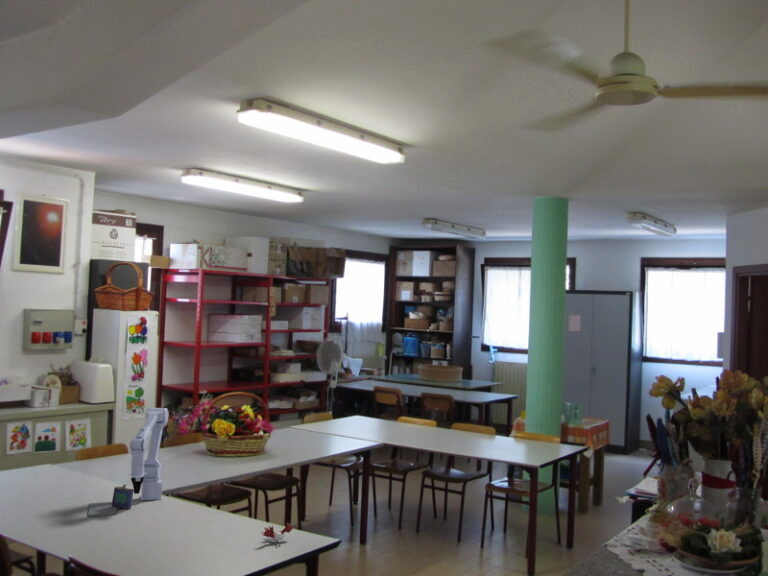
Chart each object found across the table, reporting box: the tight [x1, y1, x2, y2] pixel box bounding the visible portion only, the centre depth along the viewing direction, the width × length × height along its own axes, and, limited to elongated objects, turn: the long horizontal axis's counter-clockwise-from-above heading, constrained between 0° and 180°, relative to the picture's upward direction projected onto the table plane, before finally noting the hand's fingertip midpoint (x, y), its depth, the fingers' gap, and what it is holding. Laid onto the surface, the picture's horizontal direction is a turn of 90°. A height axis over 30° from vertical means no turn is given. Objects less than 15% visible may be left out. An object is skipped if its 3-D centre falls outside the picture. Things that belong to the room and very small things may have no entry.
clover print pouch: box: [111, 484, 134, 510], centre depth 335 cm, size 9×3×11 cm, turn 87°
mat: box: [87, 501, 118, 518], centre depth 332 cm, size 12×20×1 cm, turn 21°
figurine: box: [260, 522, 294, 543], centre depth 297 cm, size 15×12×7 cm
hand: (136, 493), depth 338 cm, fingers closed
